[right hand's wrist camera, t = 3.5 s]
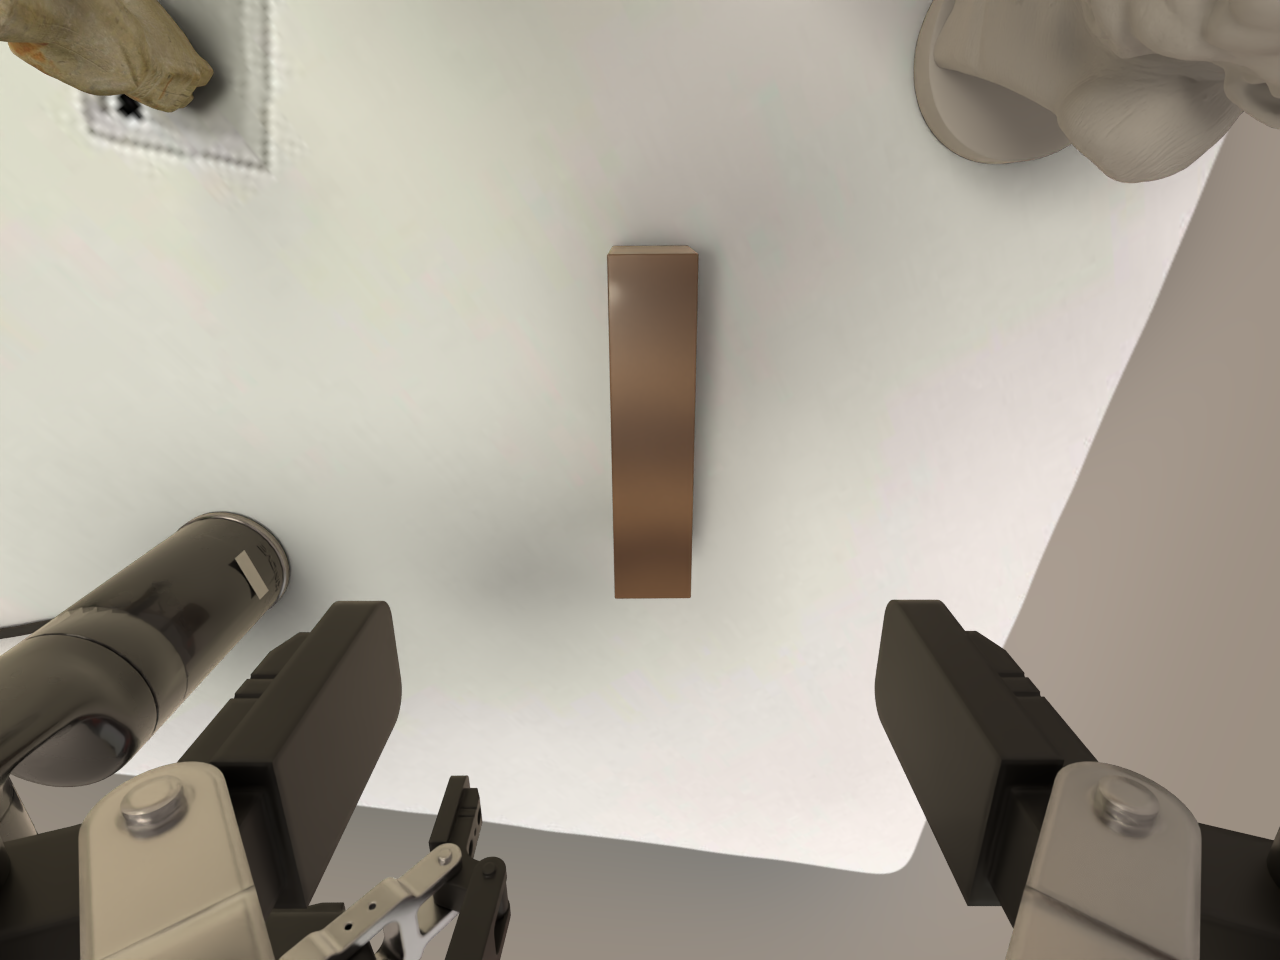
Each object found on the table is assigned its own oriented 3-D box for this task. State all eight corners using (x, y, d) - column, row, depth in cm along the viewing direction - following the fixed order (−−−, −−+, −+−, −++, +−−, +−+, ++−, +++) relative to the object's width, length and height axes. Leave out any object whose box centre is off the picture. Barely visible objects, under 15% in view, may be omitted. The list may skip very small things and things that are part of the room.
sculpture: (152, -32, 43) (-80, -146, 29) (241, 75, 45) (64, 17, 31) (92, 34, 44) (-159, -45, 31) (181, 135, 47) (-15, 105, 33)
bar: (612, 245, 49) (607, 254, 41) (688, 245, 49) (698, 253, 41) (618, 542, 58) (614, 599, 49) (683, 542, 58) (690, 598, 49)
